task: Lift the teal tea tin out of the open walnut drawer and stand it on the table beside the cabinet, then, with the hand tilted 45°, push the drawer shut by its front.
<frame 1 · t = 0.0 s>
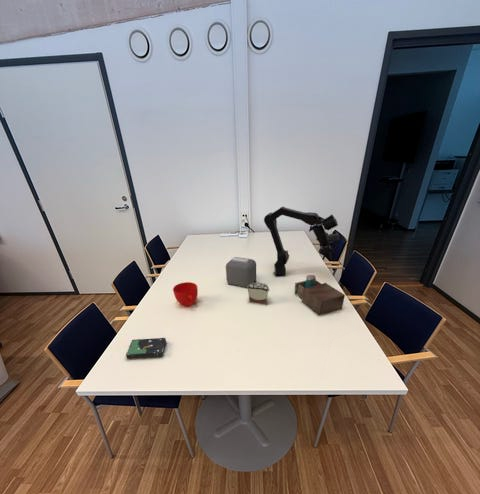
hand: (332, 257, 157), 15 cm above the table, tool tilted 35°, fingers open, 9 cm apart
disk drive: (147, 350, 115), on the table
cabinet: (321, 305, 141), on the table
food container: (259, 301, 147), on the table
tea tin: (308, 293, 149), point 2 cm above the table, touching drawer
drawer: (309, 289, 147), point 4 cm above the table, slide at 7.5 cm, touching tea tin
alarm clock: (240, 283, 167), on the table
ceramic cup: (189, 305, 146), on the table
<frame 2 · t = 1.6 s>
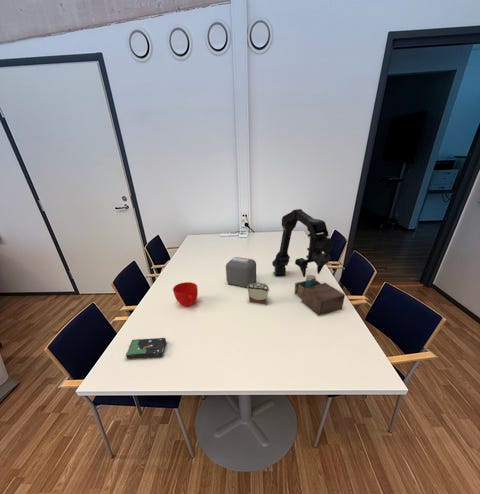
hand: (311, 275, 143), 13 cm above the table, tool pointing down, fingers open, 9 cm apart
nothing on the table moved.
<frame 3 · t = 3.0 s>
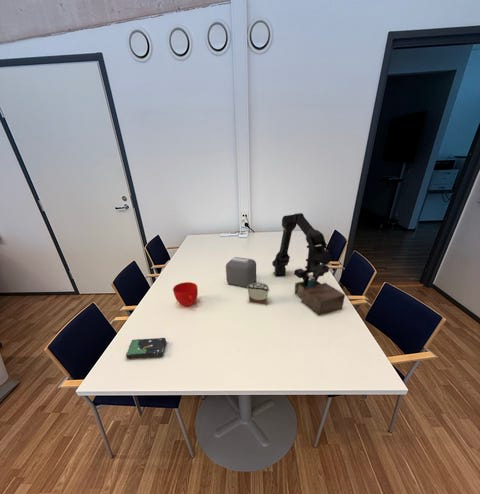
hand: (309, 285, 146), 7 cm above the table, tool pointing down, fingers closed on tea tin, 5 cm apart
tea tin: (308, 293, 149), point 2 cm above the table, touching drawer, gripper
everything else where it was.
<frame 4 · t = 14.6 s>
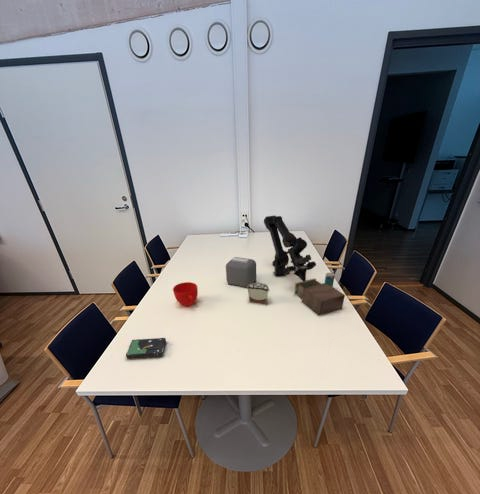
hand: (304, 281, 150), 7 cm above the table, tool tilted 45°, fingers closed, pressing on drawer
tea tin: (327, 290, 155), on the table
drawer: (310, 289, 147), point 4 cm above the table, slide at 7.3 cm, touching gripper
everything else where it was.
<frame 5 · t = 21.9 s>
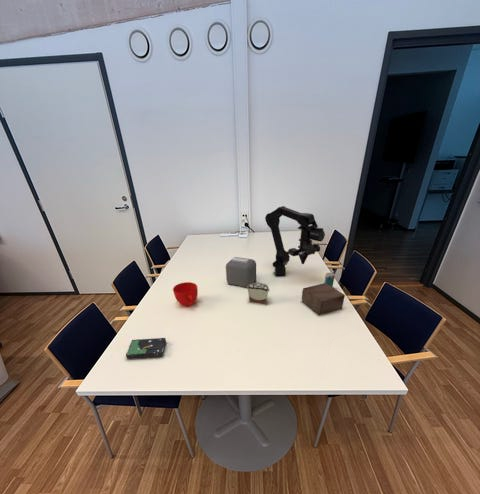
hand: (302, 263, 158), 12 cm above the table, tool pointing down, fingers closed
drawer: (318, 295, 142), point 4 cm above the table, slide at 0.0 cm, touching cabinet
everything else where it was.
at the end: tea tin 0.0 cm from the target spot, on the table; tea tin tilted 0°; drawer slide at 0.0 cm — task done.
